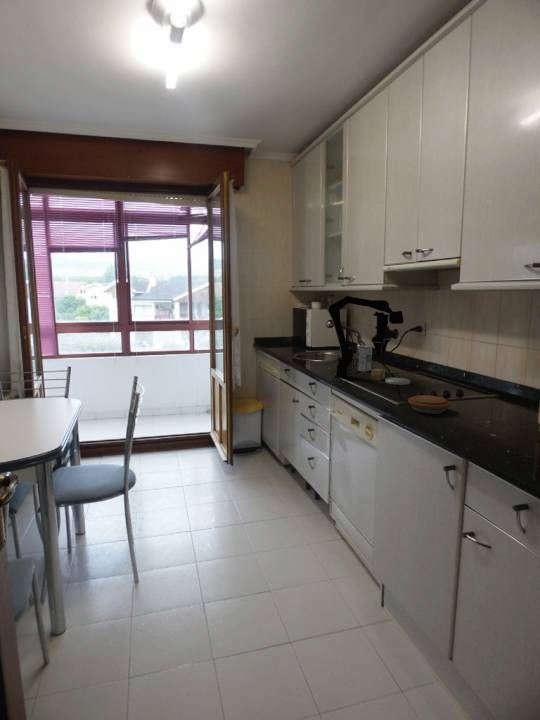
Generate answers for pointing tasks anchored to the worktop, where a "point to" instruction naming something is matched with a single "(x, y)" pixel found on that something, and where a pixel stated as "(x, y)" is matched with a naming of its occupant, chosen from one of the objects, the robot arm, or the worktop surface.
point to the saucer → (397, 381)
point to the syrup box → (364, 358)
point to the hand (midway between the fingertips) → (381, 354)
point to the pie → (428, 404)
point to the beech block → (378, 374)
